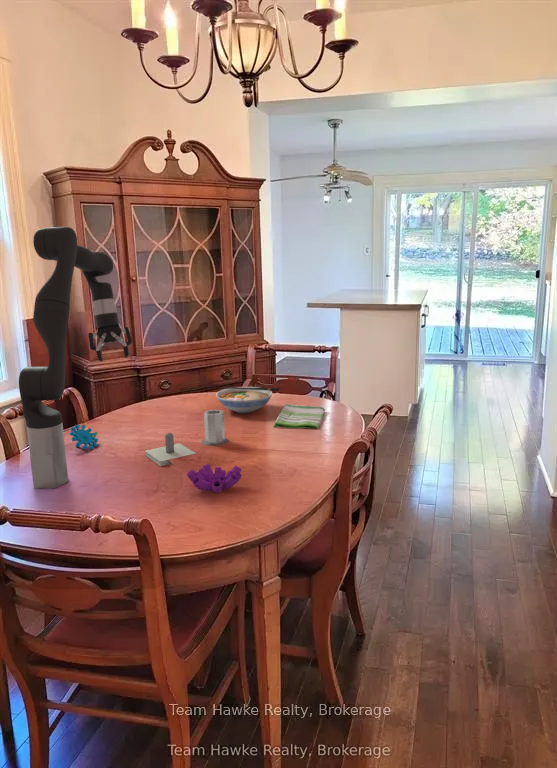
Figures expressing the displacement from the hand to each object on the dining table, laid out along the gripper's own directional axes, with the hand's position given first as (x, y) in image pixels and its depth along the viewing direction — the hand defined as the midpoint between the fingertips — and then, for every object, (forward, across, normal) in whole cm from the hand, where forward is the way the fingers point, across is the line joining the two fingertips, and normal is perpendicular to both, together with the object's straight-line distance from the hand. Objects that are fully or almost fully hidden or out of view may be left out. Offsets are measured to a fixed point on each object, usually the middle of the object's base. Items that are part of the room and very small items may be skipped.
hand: (114, 359), depth 202 cm
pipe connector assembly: (+40, +29, -51) cm, 71 cm away
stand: (+34, +30, -14) cm, 47 cm away
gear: (+28, -12, -10) cm, 32 cm away
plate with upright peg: (+33, +16, -23) cm, 43 cm away
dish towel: (+34, +62, +12) cm, 72 cm away
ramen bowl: (+29, +42, +26) cm, 57 cm away
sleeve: (+32, +30, -14) cm, 46 cm away
